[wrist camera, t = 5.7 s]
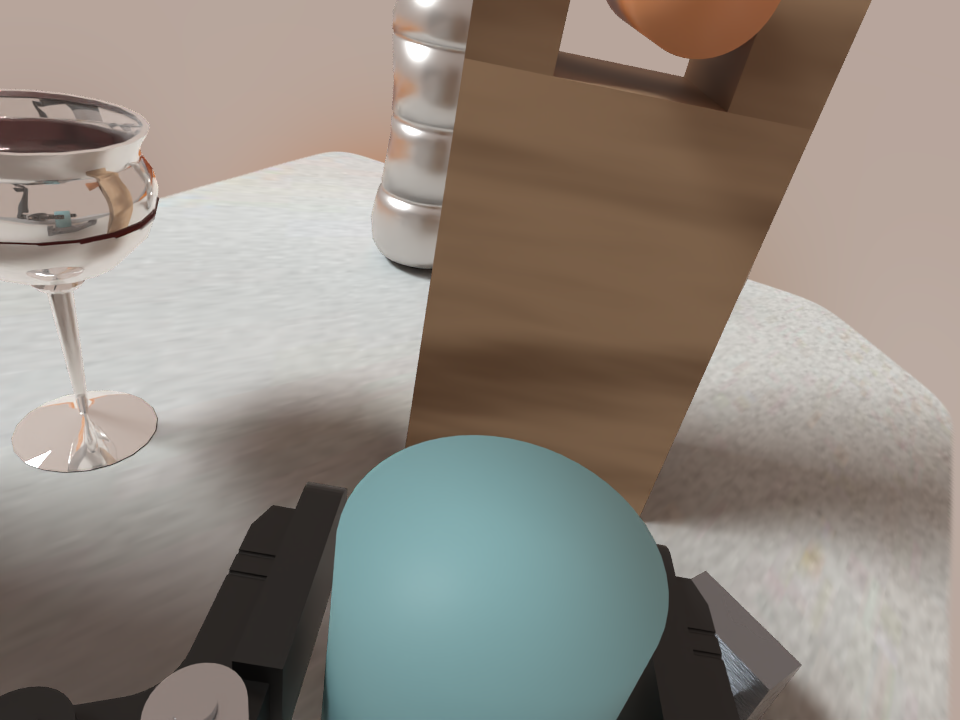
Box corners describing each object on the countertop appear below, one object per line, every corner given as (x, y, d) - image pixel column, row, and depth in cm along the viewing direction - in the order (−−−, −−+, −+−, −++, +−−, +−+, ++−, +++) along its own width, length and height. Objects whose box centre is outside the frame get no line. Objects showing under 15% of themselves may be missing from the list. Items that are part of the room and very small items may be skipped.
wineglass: (-67, 463, 23) (-201, 116, 16) (66, 363, 29) (7, 77, 22) (113, 509, 23) (50, 175, 16) (212, 399, 28) (195, 120, 22)
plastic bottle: (382, 231, 47) (416, -100, 36) (472, 252, 47) (533, -75, 36) (354, 266, 41) (384, -112, 31) (456, 290, 41) (522, -82, 30)
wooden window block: (647, 522, 27) (1001, -246, 14) (400, 478, 26) (527, -357, 13) (628, 431, 32) (874, -193, 19) (421, 393, 31) (527, -272, 18)
